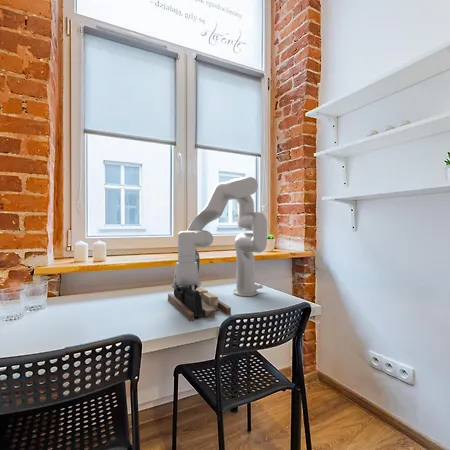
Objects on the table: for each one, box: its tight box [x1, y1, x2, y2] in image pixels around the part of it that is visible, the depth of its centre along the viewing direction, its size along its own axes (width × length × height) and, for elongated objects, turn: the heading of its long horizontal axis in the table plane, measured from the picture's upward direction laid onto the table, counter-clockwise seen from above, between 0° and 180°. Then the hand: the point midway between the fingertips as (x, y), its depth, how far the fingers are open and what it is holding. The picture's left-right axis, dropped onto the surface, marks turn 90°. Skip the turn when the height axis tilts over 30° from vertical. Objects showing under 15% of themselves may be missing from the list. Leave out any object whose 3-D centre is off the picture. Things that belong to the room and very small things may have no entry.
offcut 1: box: [195, 286, 209, 300], centre depth 141 cm, size 4×8×6 cm, turn 26°
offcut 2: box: [202, 291, 219, 311], centre depth 131 cm, size 4×8×6 cm, turn 26°
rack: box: [167, 293, 232, 322], centre depth 133 cm, size 18×32×3 cm, turn 26°
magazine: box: [173, 284, 203, 318], centre depth 130 cm, size 17×3×30 cm
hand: (186, 300), depth 131 cm, fingers closed on magazine, 3 cm apart
